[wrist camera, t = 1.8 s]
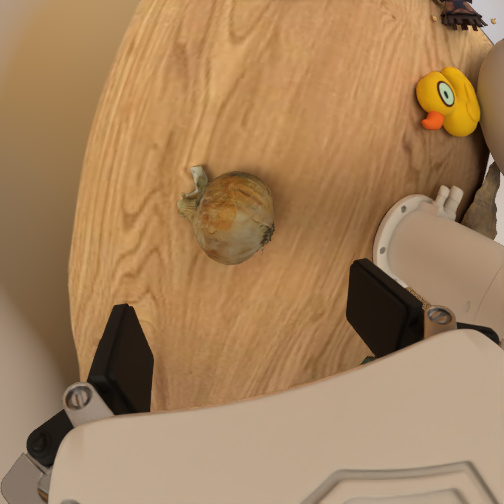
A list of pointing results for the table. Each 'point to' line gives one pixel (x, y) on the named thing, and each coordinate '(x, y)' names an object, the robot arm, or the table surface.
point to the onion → (229, 214)
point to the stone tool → (484, 205)
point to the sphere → (493, 102)
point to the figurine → (461, 15)
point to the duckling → (448, 102)
